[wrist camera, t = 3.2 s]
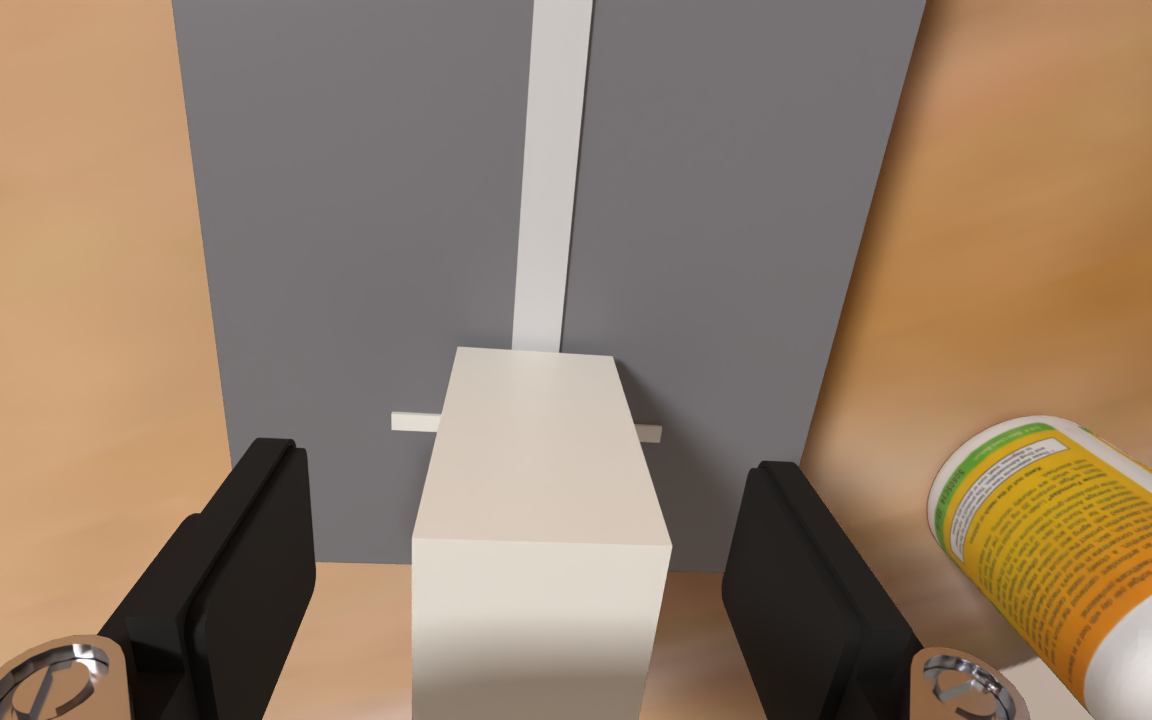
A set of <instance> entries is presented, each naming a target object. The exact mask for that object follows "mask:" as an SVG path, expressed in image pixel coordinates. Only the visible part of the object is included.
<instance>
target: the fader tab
mask: <svg viewBox="0 0 1152 720" xmlns="http://www.w3.org/2000/svg"><path fill="white" fill-rule="evenodd" d="M671 551H672V543H671V540H670V537H669V534H668V530H667V527H666V524H665V521H664V518H663V515H662V511H661V508H660V505H659V502H658V499H657V496H656V492H655V489H654V486H653V483H652V480H651V476H650V473H649V470H648V467H647V464H646V461H645V457H644V454H643V451H642V448H641V445H640V442H639V438H638V435H637V432H636V429H635V426H634V423H633V419H632V416H631V413H630V410H629V407H628V404H627V400H626V397H625V394H624V391H623V388H622V385H621V381H620V378H619V375H618V372H617V369H616V366H615V362H614V359H613V356H602V355H585V354H569V353H553V352H537V351H521V350H505V349H489V348H472V347H457V352H456V356H455V360H454V364H453V368H452V372H451V377H450V381H449V385H448V389H447V393H446V397H445V402H444V406H443V410H442V414H441V418H440V423H439V427H438V431H437V435H436V439H435V443H434V448H433V452H432V456H431V460H430V464H429V468H428V473H427V477H426V481H425V485H424V489H423V493H422V498H421V502H420V506H419V510H418V514H417V519H416V523H415V527H414V531H413V535H412V720H639V715H640V710H641V705H642V700H643V694H644V689H645V684H646V679H647V674H648V669H649V664H650V659H651V653H652V648H653V643H654V638H655V633H656V628H657V623H658V617H659V612H660V607H661V602H662V597H663V592H664V587H665V582H666V576H667V571H668V566H669V561H670V556H671Z"/></svg>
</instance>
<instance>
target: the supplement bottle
mask: <svg viewBox="0 0 1152 720" xmlns="http://www.w3.org/2000/svg"><path fill="white" fill-rule="evenodd" d="M927 509H928V521H929V525H930V529H931V531H932V533H933V535H934V537H935V539H936V540H937V542H938V543H939V544H940V546H941V547H942V548H943V549H944V550H945V552H946V553H947V554H948V555H949V556H950V558H951V559H952V560H953V561H954V562H955V563H956V565H957V566H958V567H959V568H960V569H961V570H962V571H963V572H964V573H965V574H966V575H967V577H968V578H969V579H970V580H971V581H972V582H973V583H974V584H975V585H976V586H977V588H978V589H979V590H980V591H981V592H982V593H983V594H984V595H985V597H986V598H987V599H988V600H989V601H990V602H991V603H992V604H993V605H994V606H995V607H996V609H997V610H998V611H999V612H1000V613H1001V615H1002V616H1003V617H1004V618H1005V619H1006V620H1007V621H1008V623H1009V624H1010V625H1011V626H1012V627H1013V628H1014V629H1015V630H1016V631H1017V633H1018V634H1019V635H1020V636H1021V637H1022V638H1023V639H1024V640H1025V641H1026V643H1027V644H1028V645H1029V646H1030V647H1031V648H1032V649H1033V650H1034V651H1035V653H1036V654H1037V655H1038V656H1039V657H1040V658H1041V659H1042V661H1043V662H1044V663H1045V664H1046V665H1047V666H1048V667H1049V668H1050V669H1051V670H1052V672H1053V673H1054V674H1055V675H1056V676H1057V677H1058V678H1059V680H1060V681H1061V682H1062V683H1063V684H1064V685H1065V686H1066V687H1067V689H1068V690H1069V691H1070V692H1071V693H1072V695H1073V696H1074V697H1075V698H1076V699H1077V700H1078V702H1079V703H1080V704H1081V705H1082V706H1083V707H1084V708H1085V709H1086V710H1087V711H1088V713H1089V714H1090V715H1091V716H1092V717H1093V718H1094V719H1095V720H1152V470H1151V469H1150V468H1148V467H1147V466H1145V465H1144V464H1142V463H1140V462H1139V461H1137V460H1136V459H1134V458H1133V457H1131V456H1130V455H1128V454H1127V453H1125V452H1123V451H1122V450H1120V449H1119V448H1117V447H1116V446H1114V445H1112V444H1110V443H1109V442H1107V441H1106V440H1104V439H1103V438H1101V437H1099V436H1098V435H1096V434H1094V433H1093V432H1091V431H1089V430H1087V429H1085V428H1084V427H1082V426H1080V425H1078V424H1076V423H1074V422H1072V421H1069V420H1066V419H1063V418H1060V417H1054V416H1044V415H1035V416H1025V417H1019V418H1015V419H1011V420H1007V421H1004V422H1002V423H999V424H997V425H994V426H992V427H989V428H988V429H986V430H984V431H982V432H980V433H978V434H977V435H975V436H973V437H972V438H971V439H969V440H968V441H966V442H965V443H964V444H963V445H961V446H960V447H959V448H958V449H957V450H956V451H955V452H954V453H953V454H952V455H951V456H950V457H949V458H948V460H947V461H946V462H945V463H944V465H943V466H942V468H941V469H940V471H939V473H938V475H937V476H936V478H935V480H934V483H933V485H932V488H931V491H930V494H929V499H928V507H927Z"/></svg>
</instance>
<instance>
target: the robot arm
mask: <svg viewBox="0 0 1152 720" xmlns="http://www.w3.org/2000/svg"><path fill="white" fill-rule="evenodd" d="M315 581H316V565H315V552H314V538H313V525H312V512H311V498H310V485H309V471H308V458H307V452H306V449H305V448H296V444H295V441H294V440H293V439H282V438H260V437H259V438H256V439H255V440H254V441H253V442H252V444H251V445H250V447H249V448H248V449H247V451H246V452H245V453H244V455H243V456H242V457H241V459H240V460H239V462H238V463H237V464H236V466H235V467H234V468H233V470H232V471H231V473H230V474H229V475H228V477H227V478H226V479H225V481H224V482H223V483H222V485H221V486H220V488H219V489H218V490H217V492H216V493H215V494H214V496H213V497H212V498H211V500H210V501H209V503H208V504H207V505H206V507H205V508H204V509H203V511H202V512H201V513H194V514H192V515H189V516H188V517H187V518H186V519H185V520H184V521H183V522H182V523H181V524H180V526H179V527H178V528H177V530H176V531H175V532H174V534H173V535H172V536H171V538H170V539H169V540H168V542H167V543H166V544H165V546H164V547H163V548H162V550H161V551H160V552H159V553H158V555H157V556H156V557H155V559H154V560H153V561H152V563H151V564H150V565H149V567H148V568H147V569H146V571H145V572H144V573H143V575H142V576H141V577H140V578H139V580H138V581H137V582H136V584H135V585H134V586H133V588H132V589H131V590H130V592H129V593H128V594H127V596H126V597H125V598H124V600H123V601H122V602H121V604H120V605H119V606H118V607H117V609H116V610H115V611H114V613H113V614H112V615H111V617H110V618H109V619H108V621H107V622H106V623H105V625H104V626H103V627H102V629H101V630H100V631H99V632H98V634H97V635H73V636H68V637H64V638H59V639H55V640H51V641H49V642H46V643H43V644H41V645H38V646H36V647H33V648H31V649H29V650H27V651H25V652H23V653H22V654H20V655H18V656H16V657H15V658H13V659H11V660H10V661H8V662H6V663H5V664H4V665H3V666H2V667H0V720H262V718H263V716H264V713H265V711H266V708H267V706H268V703H269V701H270V698H271V696H272V693H273V691H274V688H275V686H276V684H277V681H278V679H279V676H280V674H281V671H282V669H283V666H284V664H285V661H286V659H287V656H288V654H289V651H290V649H291V646H292V644H293V641H294V639H295V636H296V634H297V632H298V629H299V627H300V624H301V622H302V619H303V617H304V614H305V612H306V609H307V607H308V604H309V602H310V599H311V597H312V594H313V591H314V587H315ZM722 599H723V603H724V606H725V608H726V611H727V614H728V616H729V619H730V622H731V624H732V627H733V630H734V632H735V635H736V637H737V640H738V643H739V645H740V648H741V651H742V653H743V656H744V659H745V661H746V664H747V667H748V669H749V672H750V674H751V677H752V680H753V682H754V685H755V688H756V690H757V693H758V696H759V698H760V701H761V704H762V706H763V709H764V711H765V714H766V717H767V719H768V720H1030V715H1029V712H1028V709H1027V706H1026V703H1025V701H1024V699H1023V697H1022V696H1021V695H1020V694H1019V692H1018V691H1017V689H1016V688H1015V686H1014V685H1013V684H1011V682H1010V681H1008V679H1006V678H1005V677H1004V676H1003V675H1002V674H1001V673H1000V672H999V671H997V670H996V669H994V668H993V667H991V666H990V665H988V664H987V663H985V662H984V661H982V660H980V659H978V658H976V657H974V656H972V655H970V654H968V653H966V652H962V651H959V650H955V649H952V648H948V647H929V648H924V647H923V646H922V644H921V643H920V641H919V640H918V638H917V637H916V636H915V634H914V633H913V630H912V628H911V627H910V626H909V624H908V623H907V621H906V620H905V618H904V617H903V616H902V614H901V613H900V611H899V610H898V608H897V607H896V606H895V604H894V603H893V601H892V600H891V598H890V597H889V596H888V594H887V593H886V591H885V590H884V588H883V587H882V586H881V584H880V583H879V581H878V580H877V578H876V577H875V576H874V574H873V573H872V571H871V570H870V568H869V567H868V566H867V564H866V563H865V561H864V560H863V558H862V557H861V556H860V554H859V553H858V551H857V550H856V548H855V547H854V546H853V544H852V543H851V541H850V540H849V538H848V537H847V536H846V534H845V533H844V531H843V530H842V528H841V527H840V526H839V524H838V523H837V521H836V520H835V518H834V517H833V516H832V514H831V513H830V511H829V510H828V508H827V507H826V506H825V504H824V503H823V501H822V500H821V498H820V497H819V496H818V494H817V493H816V491H815V490H814V488H813V487H812V486H811V484H810V483H809V481H808V480H807V478H806V477H805V476H804V474H803V473H802V471H801V470H800V468H799V467H798V466H797V465H796V464H795V463H794V462H787V461H765V460H763V461H762V462H760V464H759V465H758V468H751V469H750V471H749V473H748V476H747V480H746V484H745V488H744V492H743V497H742V501H741V505H740V509H739V513H738V518H737V522H736V526H735V530H734V534H733V539H732V543H731V547H730V551H729V555H728V560H727V564H726V568H725V572H724V576H723V581H722Z"/></svg>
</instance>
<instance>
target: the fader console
mask: <svg viewBox="0 0 1152 720" xmlns="http://www.w3.org/2000/svg"><path fill="white" fill-rule="evenodd" d="M925 4H926V0H172V7H173V15H174V23H175V30H176V38H177V46H178V54H179V61H180V69H181V77H182V85H183V92H184V100H185V108H186V116H187V123H188V131H189V139H190V147H191V154H192V162H193V170H194V178H195V185H196V193H197V201H198V209H199V216H200V224H201V232H202V240H203V247H204V255H205V263H206V271H207V278H208V286H209V294H210V302H211V309H212V317H213V325H214V333H215V340H216V348H217V356H218V364H219V371H220V379H221V387H222V395H223V402H224V410H225V418H226V426H227V433H228V441H229V449H230V457H231V464H232V470H233V468H234V467H235V466H236V464H237V463H238V462H239V460H240V459H241V457H242V456H243V455H244V453H245V452H246V451H247V449H248V448H249V447H250V445H251V444H252V442H253V441H254V440H255V439H256V438H259V437H260V438H282V439H293V440H294V441H295V444H296V448H305V449H306V452H307V458H308V471H309V485H310V498H311V512H312V525H313V538H314V552H315V562H336V563H374V564H412V535H413V531H414V527H415V523H416V519H417V514H418V510H419V506H420V502H421V498H422V493H423V489H424V485H425V481H426V477H427V473H428V468H429V464H430V460H431V456H432V452H433V448H434V443H435V439H436V435H437V431H438V427H439V423H440V418H441V414H442V410H443V406H444V402H445V397H446V393H447V389H448V385H449V381H450V377H451V372H452V368H453V364H454V360H455V356H456V352H457V347H472V348H489V349H505V350H521V351H537V352H553V353H569V354H585V355H602V356H613V359H614V362H615V366H616V369H617V372H618V375H619V378H620V381H621V385H622V388H623V391H624V394H625V397H626V400H627V404H628V407H629V410H630V413H631V416H632V419H633V423H634V426H635V429H636V432H637V435H638V438H639V442H640V445H641V448H642V451H643V454H644V457H645V461H646V464H647V467H648V470H649V473H650V476H651V480H652V483H653V486H654V489H655V492H656V496H657V499H658V502H659V505H660V508H661V511H662V515H663V518H664V521H665V524H666V527H667V530H668V534H669V537H670V540H671V543H672V551H671V556H670V561H669V566H668V571H676V572H714V573H724V572H725V568H726V564H727V560H728V555H729V551H730V547H731V543H732V539H733V534H734V530H735V526H736V522H737V518H738V513H739V509H740V505H741V501H742V497H743V492H744V488H745V484H746V480H747V476H748V473H749V471H750V469H751V468H758V465H759V464H760V462H762V461H763V460H765V461H787V462H794V463H795V464H796V465H797V466H798V467H799V464H800V461H801V457H802V453H803V450H804V446H805V442H806V439H807V435H808V432H809V428H810V424H811V421H812V417H813V413H814V410H815V406H816V402H817V399H818V395H819V391H820V388H821V384H822V380H823V377H824V373H825V369H826V366H827V362H828V358H829V355H830V351H831V348H832V344H833V340H834V337H835V333H836V329H837V326H838V322H839V318H840V315H841V311H842V307H843V304H844V300H845V296H846V293H847V289H848V285H849V282H850V278H851V274H852V271H853V267H854V263H855V260H856V256H857V253H858V249H859V245H860V242H861V238H862V234H863V231H864V227H865V223H866V220H867V216H868V212H869V209H870V205H871V201H872V198H873V194H874V190H875V187H876V183H877V179H878V176H879V172H880V168H881V165H882V161H883V158H884V154H885V150H886V147H887V143H888V139H889V136H890V132H891V128H892V125H893V121H894V117H895V114H896V110H897V106H898V103H899V99H900V95H901V92H902V88H903V84H904V81H905V77H906V73H907V70H908V66H909V63H910V59H911V55H912V52H913V48H914V44H915V41H916V37H917V33H918V30H919V26H920V22H921V19H922V15H923V11H924V8H925Z"/></svg>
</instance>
